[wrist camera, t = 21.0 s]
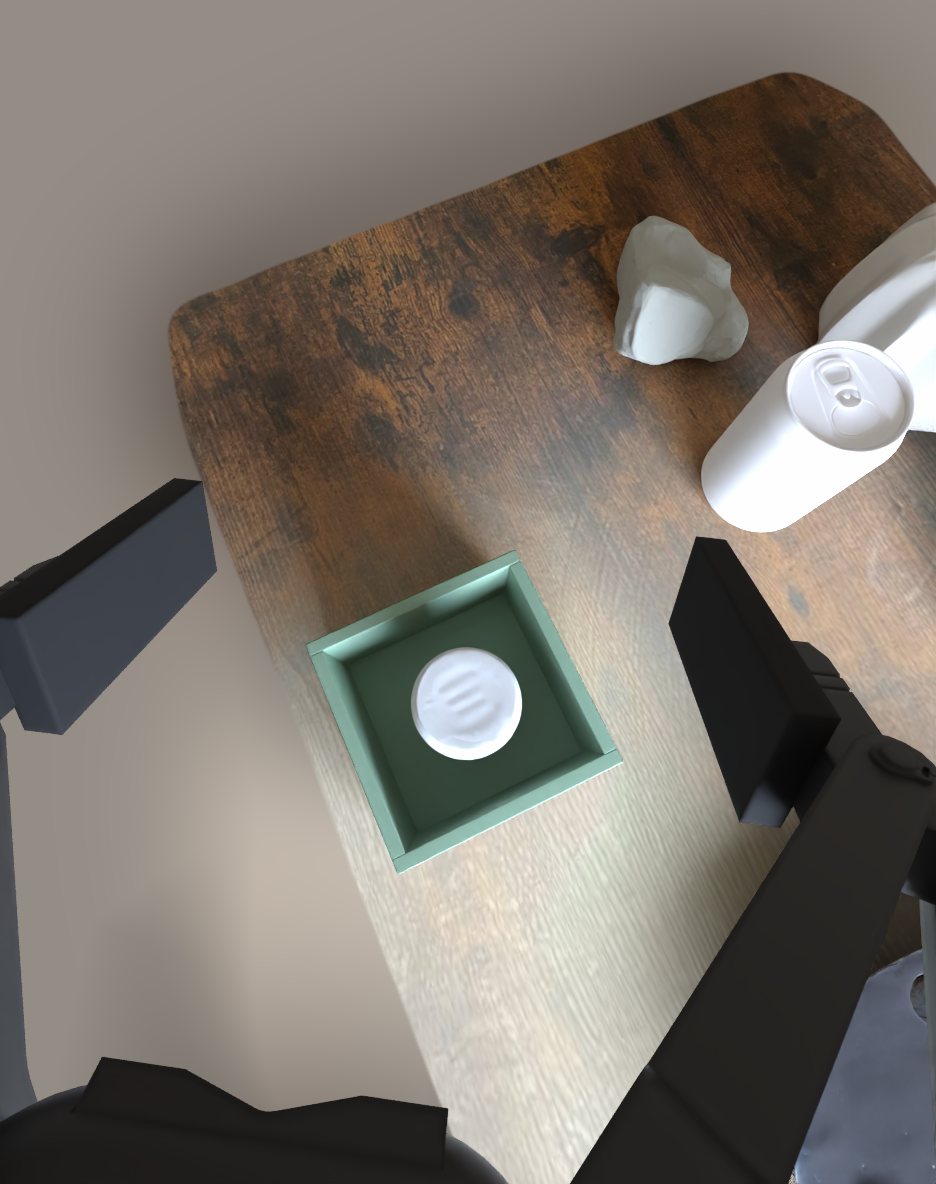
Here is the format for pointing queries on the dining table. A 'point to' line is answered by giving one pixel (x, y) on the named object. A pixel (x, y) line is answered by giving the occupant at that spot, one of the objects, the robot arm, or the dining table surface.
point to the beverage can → (808, 434)
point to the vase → (894, 308)
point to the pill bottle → (466, 703)
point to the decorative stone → (675, 298)
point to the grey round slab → (877, 1091)
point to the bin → (404, 759)
